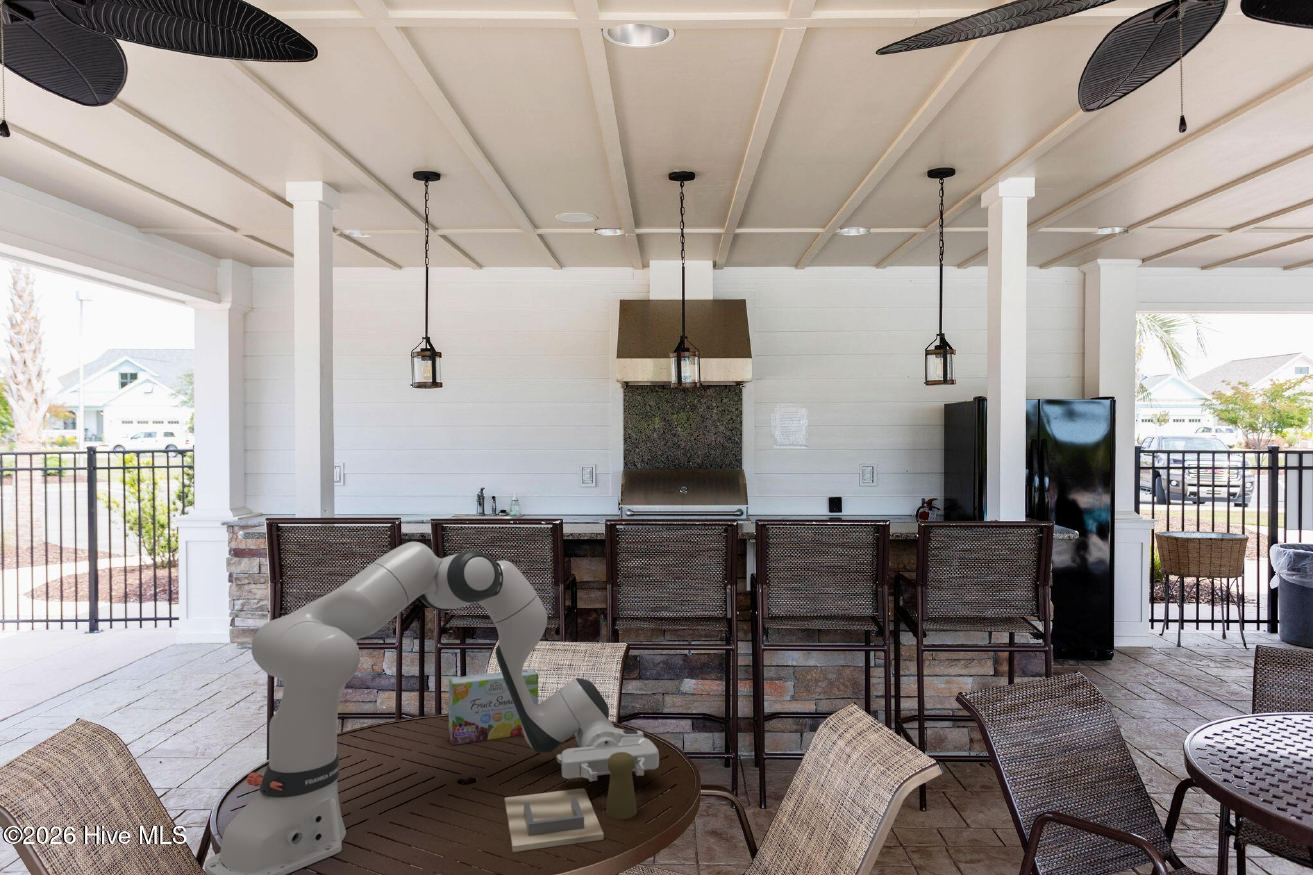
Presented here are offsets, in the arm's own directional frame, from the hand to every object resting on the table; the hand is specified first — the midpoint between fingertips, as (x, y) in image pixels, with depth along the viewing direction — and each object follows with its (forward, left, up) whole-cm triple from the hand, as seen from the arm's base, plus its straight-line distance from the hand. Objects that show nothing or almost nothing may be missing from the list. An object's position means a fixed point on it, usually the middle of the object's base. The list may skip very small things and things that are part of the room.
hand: (617, 774), depth 151 cm
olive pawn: (-2, -2, -6) cm, 7 cm away
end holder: (-13, +6, -5) cm, 15 cm away
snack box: (+18, +47, -6) cm, 51 cm away
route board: (-11, +8, -6) cm, 15 cm away
